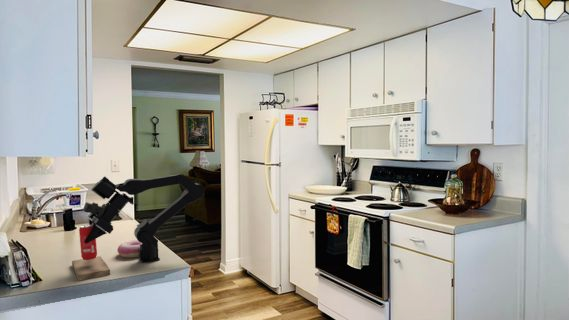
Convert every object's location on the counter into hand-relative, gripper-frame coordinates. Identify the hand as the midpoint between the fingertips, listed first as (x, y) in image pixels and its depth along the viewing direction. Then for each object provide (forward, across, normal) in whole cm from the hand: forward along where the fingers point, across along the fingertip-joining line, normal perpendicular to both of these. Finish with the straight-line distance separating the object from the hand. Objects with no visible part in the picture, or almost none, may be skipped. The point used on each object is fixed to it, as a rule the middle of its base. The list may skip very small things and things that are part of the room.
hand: (83, 241), depth 146 cm
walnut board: (+7, 0, +9) cm, 11 cm away
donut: (-6, -11, +22) cm, 25 cm away
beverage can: (+4, 0, +6) cm, 7 cm away
